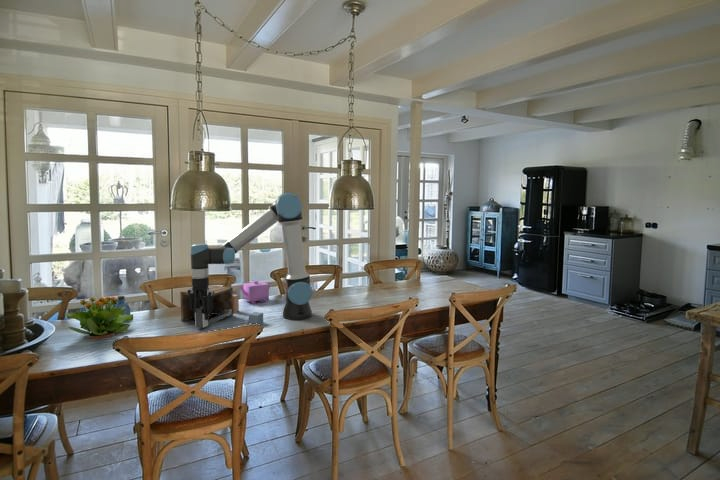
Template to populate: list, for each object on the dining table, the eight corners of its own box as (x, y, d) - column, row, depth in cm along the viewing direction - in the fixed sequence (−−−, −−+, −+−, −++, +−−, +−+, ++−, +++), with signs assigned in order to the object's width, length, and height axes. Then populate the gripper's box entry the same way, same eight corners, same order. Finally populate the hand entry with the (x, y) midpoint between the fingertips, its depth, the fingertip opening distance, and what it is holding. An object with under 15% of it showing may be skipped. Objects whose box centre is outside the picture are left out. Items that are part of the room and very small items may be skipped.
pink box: (266, 297, 259) (266, 278, 257) (272, 301, 250) (272, 280, 249) (234, 302, 248) (234, 281, 246) (239, 306, 239) (239, 284, 238)
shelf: (233, 315, 220) (232, 287, 219) (211, 324, 204) (210, 294, 202) (205, 311, 226) (204, 284, 225) (181, 320, 210) (180, 291, 208)
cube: (263, 322, 209) (263, 312, 208) (257, 325, 204) (257, 315, 203) (254, 321, 210) (254, 311, 210) (248, 324, 206) (248, 314, 205)
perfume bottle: (126, 317, 215) (125, 294, 214) (130, 319, 211) (129, 296, 209) (113, 319, 211) (112, 296, 209) (117, 322, 206) (115, 298, 205)
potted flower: (125, 342, 178) (123, 302, 176) (59, 348, 170) (56, 307, 168) (135, 325, 202) (133, 290, 200) (77, 330, 194) (75, 293, 192)
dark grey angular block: (233, 314, 217) (232, 297, 216) (202, 327, 195) (201, 309, 194) (212, 312, 222) (212, 295, 221) (180, 324, 199) (179, 306, 199)
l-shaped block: (238, 311, 229) (238, 294, 228) (234, 312, 226) (234, 296, 225) (215, 308, 234) (214, 292, 233) (211, 309, 231) (210, 293, 230)
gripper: (220, 276, 196) (221, 325, 198) (191, 274, 201) (193, 321, 204) (209, 279, 189) (210, 330, 191) (180, 277, 194) (181, 326, 197)
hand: (201, 325), depth 197 cm, fingers closed on dark grey angular block, 4 cm apart
